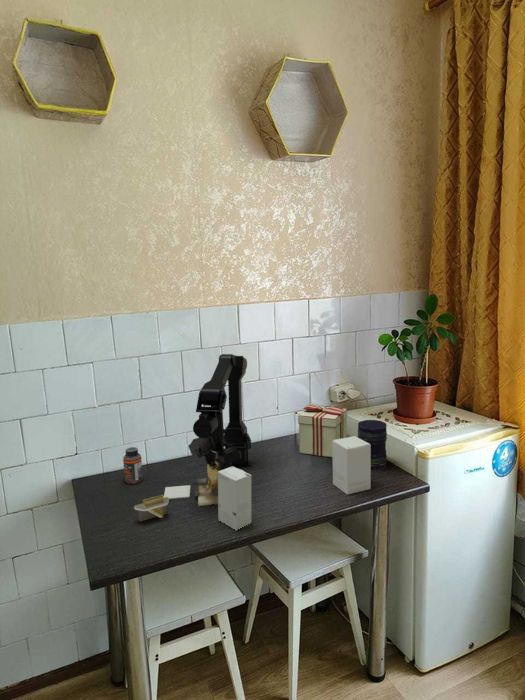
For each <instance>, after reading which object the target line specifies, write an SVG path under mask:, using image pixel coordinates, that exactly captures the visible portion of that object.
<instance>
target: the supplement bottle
mask: <svg viewBox="0 0 525 700" xmlns="http://www.w3.org/2000/svg"><path fill="white" fill-rule="evenodd" d="M122 459H123V460H122V462H123V473H124V481H125V483H127V484H129V485H134V484H139V483H140V482H142V481H143V479H144V478H143V462H142V461H143V460H142V455H141V453H139V450H138V447H134V446H133V447H128V448H126V449H125V454H124V456H123V457H122Z"/></svg>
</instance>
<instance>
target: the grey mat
mask: <svg viewBox="0 0 525 700" xmlns="http://www.w3.org/2000/svg"><path fill="white" fill-rule="evenodd" d="M190 493H191V485H190V484H189V485H179V486H178V485H177V486H176V485H175V486H165V488H164V494H163V497H168V498H169V500H174V499H184V498H186V499H187V498H190V496H191V495H190Z"/></svg>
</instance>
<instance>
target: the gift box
mask: <svg viewBox="0 0 525 700" xmlns="http://www.w3.org/2000/svg"><path fill="white" fill-rule="evenodd" d="M302 409H303V410H304V411H303V412H302V413H299V415H298V416H297V424H298V433H299V435H298V438H299V453H300V454H304V455H305V454H306V455H310V456H311V455H312V456H319V457H326V458H327V457H328V458H333V456H332V441H333V440H337V439H342V438H347V437H348V436H347V435H348V434H347V433H348V432H347V431H348V430H347V429H348V427H347V425H348V424H347V418H348V409H347V408H343V407H339V406H331V407H328V406H320V405H317V404H314V403H313V404H312V403H311V404H309V403H308V404H306V405H305V406H304V407H303V408H302Z"/></svg>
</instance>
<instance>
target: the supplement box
mask: <svg viewBox="0 0 525 700" xmlns="http://www.w3.org/2000/svg"><path fill="white" fill-rule="evenodd" d="M332 456H333V457H332V485H334V486H335V487H337V488H338V489H339V490H340V491H342V492H343V493H344V494H346V495H351V494H355V493H360V492H364V491H367V490H371V487H372V485H371V480H372V478H371V477H372V475H371V474H372V473H371V444H369V443H367V442H365V441H363V440H361V439H359V438H358V436H356V435H353V436H347V438H342V439H337V440H333V441H332Z"/></svg>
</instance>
